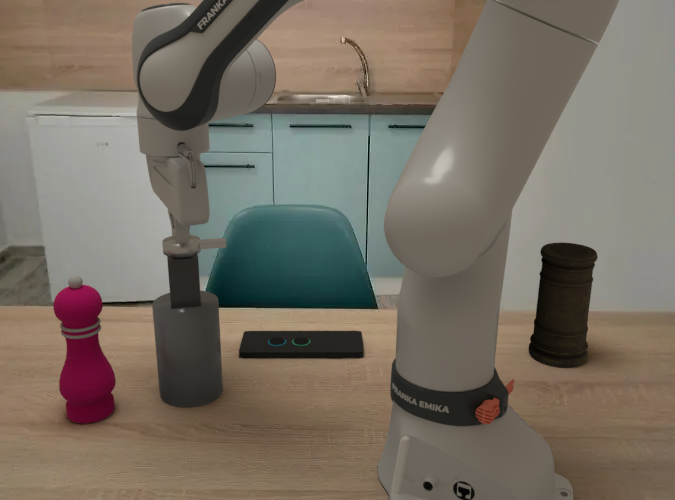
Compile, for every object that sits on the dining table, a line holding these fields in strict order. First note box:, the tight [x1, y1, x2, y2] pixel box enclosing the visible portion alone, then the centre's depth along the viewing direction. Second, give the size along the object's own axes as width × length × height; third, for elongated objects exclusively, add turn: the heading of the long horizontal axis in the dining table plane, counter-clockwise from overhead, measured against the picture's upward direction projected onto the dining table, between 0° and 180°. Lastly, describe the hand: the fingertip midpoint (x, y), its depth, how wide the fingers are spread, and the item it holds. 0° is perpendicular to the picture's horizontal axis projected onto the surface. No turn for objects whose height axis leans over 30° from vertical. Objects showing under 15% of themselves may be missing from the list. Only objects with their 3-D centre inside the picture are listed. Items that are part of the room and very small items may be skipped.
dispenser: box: [151, 253, 224, 409], centre depth 97 cm, size 9×9×21 cm
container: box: [528, 242, 599, 368], centre depth 110 cm, size 9×9×18 cm
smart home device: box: [238, 330, 365, 360], centre depth 114 cm, size 8×2×20 cm
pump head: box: [161, 234, 227, 258], centre depth 95 cm, size 8×5×9 cm, turn 104°
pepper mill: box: [53, 274, 117, 424], centre depth 92 cm, size 7×7×20 cm
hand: (181, 240), depth 94 cm, fingers closed, pressing on pump head
